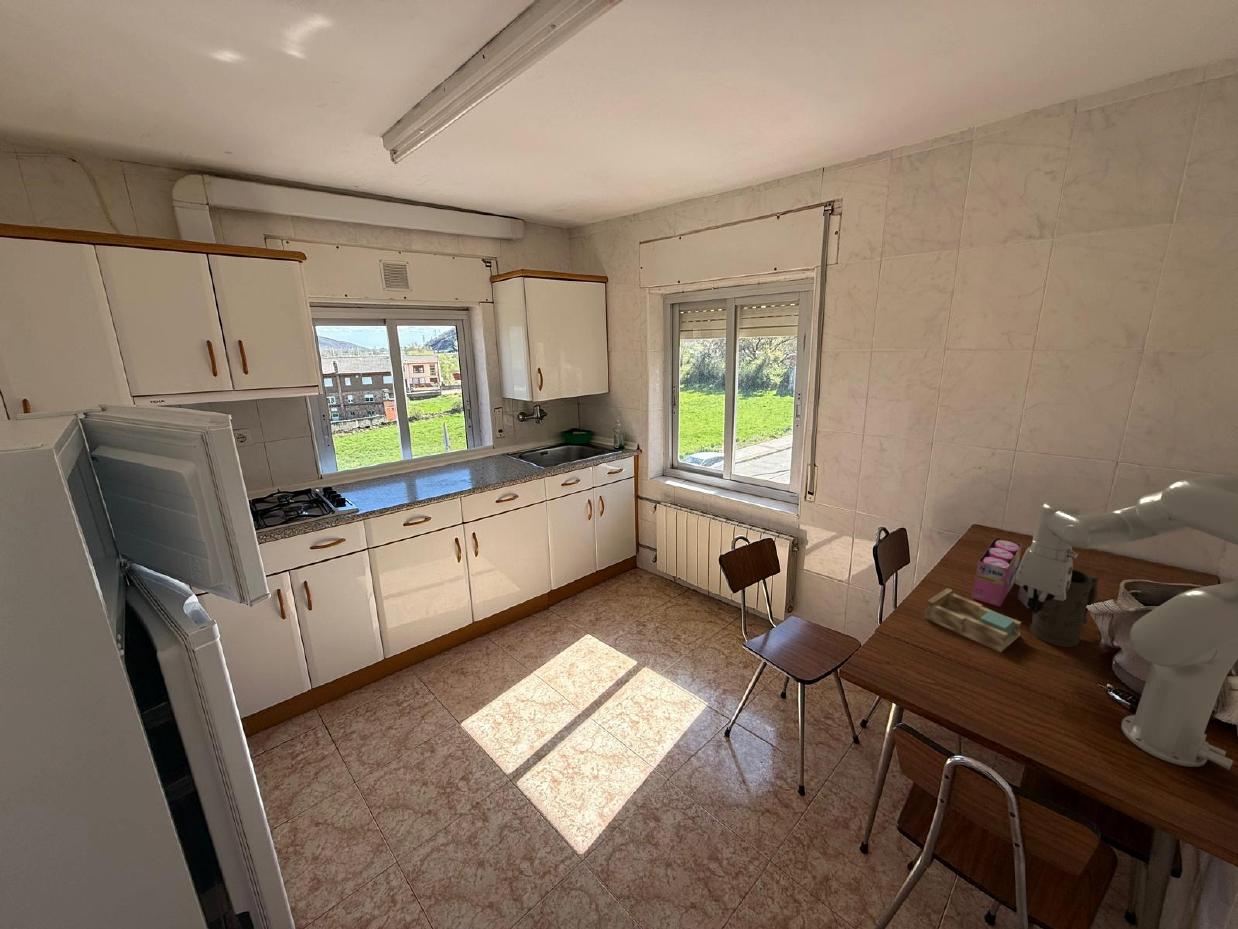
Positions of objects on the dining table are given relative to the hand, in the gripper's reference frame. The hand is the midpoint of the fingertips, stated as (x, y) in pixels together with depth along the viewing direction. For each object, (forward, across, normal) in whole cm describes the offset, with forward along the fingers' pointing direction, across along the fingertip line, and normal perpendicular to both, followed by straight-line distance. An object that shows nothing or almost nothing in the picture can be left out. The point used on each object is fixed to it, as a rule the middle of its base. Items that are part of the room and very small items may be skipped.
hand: (1034, 610), depth 132 cm
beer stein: (+13, -3, -16) cm, 20 cm away
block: (+11, +7, 0) cm, 13 cm away
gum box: (+13, +18, -28) cm, 36 cm away
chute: (+13, +13, 0) cm, 18 cm away
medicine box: (+13, +7, -26) cm, 30 cm away
